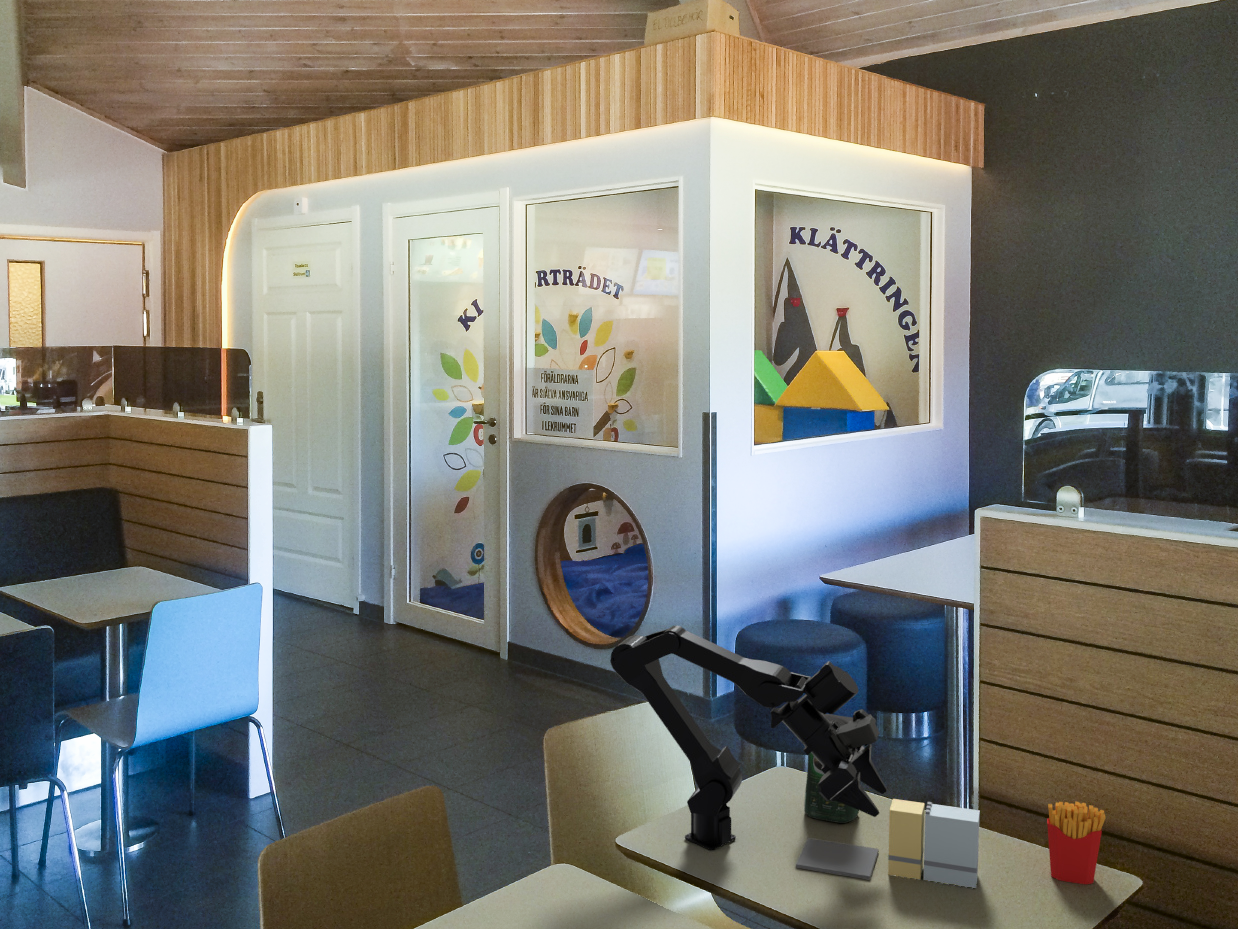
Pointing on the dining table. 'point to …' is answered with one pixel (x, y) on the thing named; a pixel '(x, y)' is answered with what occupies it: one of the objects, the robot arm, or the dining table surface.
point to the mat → (838, 858)
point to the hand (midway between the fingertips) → (881, 803)
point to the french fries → (1074, 841)
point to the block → (906, 838)
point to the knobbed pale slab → (951, 845)
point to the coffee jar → (813, 800)
